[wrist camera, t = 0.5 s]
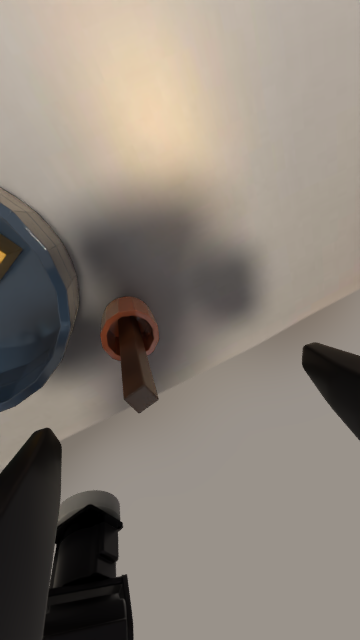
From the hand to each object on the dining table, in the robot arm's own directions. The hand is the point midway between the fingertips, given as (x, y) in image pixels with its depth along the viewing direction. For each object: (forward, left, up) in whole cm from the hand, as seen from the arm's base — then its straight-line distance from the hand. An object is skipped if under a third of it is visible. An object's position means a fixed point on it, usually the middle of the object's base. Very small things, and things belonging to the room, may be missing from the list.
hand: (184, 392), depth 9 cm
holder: (-2, -1, -13) cm, 13 cm away
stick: (-2, -1, -13) cm, 13 cm away
